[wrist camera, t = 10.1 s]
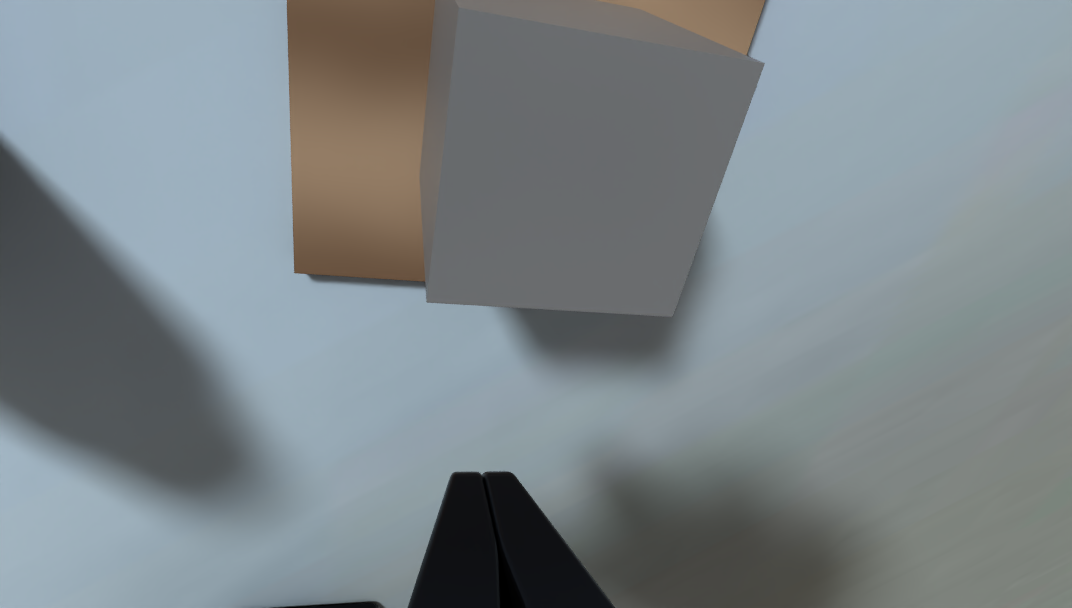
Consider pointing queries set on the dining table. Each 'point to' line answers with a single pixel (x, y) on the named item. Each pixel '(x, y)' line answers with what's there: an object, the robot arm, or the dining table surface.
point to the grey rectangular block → (572, 153)
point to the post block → (393, 123)
